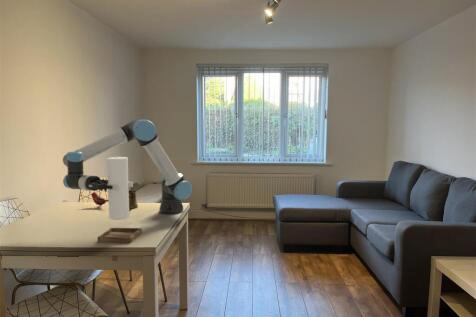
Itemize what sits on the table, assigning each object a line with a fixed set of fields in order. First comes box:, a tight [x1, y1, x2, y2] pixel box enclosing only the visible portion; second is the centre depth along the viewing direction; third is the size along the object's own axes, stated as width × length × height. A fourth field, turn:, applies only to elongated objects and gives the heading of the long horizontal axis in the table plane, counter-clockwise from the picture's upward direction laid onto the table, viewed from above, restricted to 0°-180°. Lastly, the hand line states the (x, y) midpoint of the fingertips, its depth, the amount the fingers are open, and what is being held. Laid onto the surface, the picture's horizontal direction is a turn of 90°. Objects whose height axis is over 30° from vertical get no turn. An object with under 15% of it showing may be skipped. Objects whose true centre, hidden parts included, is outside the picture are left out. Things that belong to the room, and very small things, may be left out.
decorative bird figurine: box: [91, 191, 109, 208], centre depth 245 cm, size 3×18×10 cm, turn 65°
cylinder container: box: [106, 156, 130, 221], centre depth 179 cm, size 9×9×30 cm
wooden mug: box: [129, 182, 140, 210], centre depth 243 cm, size 9×14×18 cm, turn 42°
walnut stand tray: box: [97, 227, 143, 244], centre depth 182 cm, size 16×16×2 cm
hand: (125, 186), depth 178 cm, fingers closed on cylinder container, 9 cm apart
